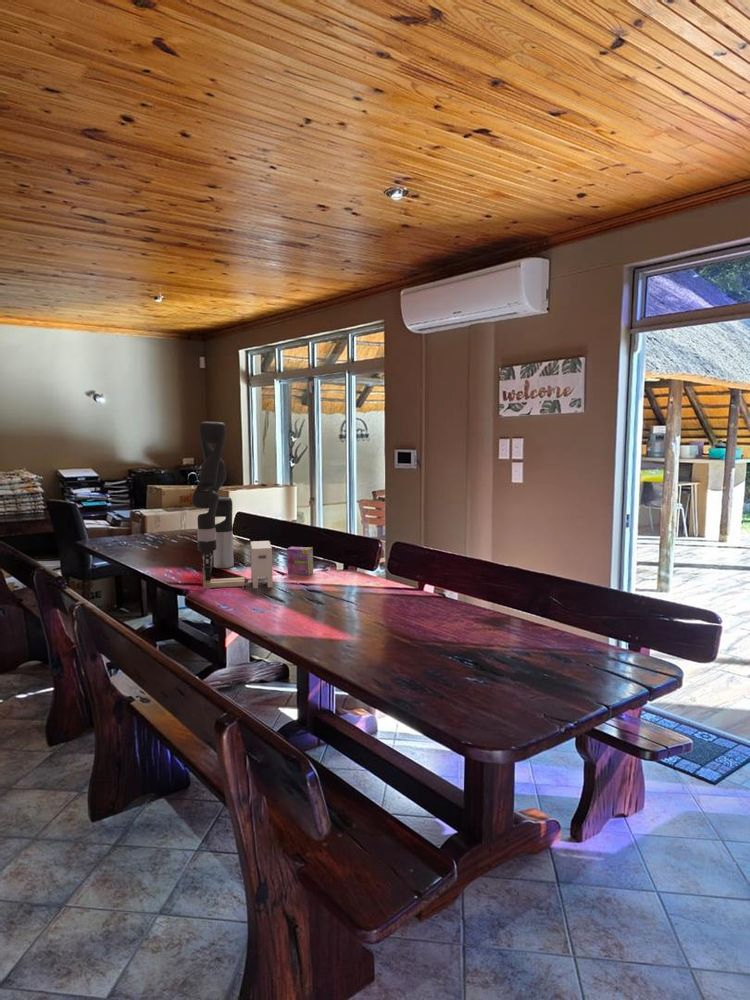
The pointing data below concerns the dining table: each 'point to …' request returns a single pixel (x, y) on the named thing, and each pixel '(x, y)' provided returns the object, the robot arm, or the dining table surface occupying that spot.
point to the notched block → (261, 562)
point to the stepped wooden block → (222, 582)
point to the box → (300, 560)
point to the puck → (262, 580)
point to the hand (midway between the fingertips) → (208, 579)
